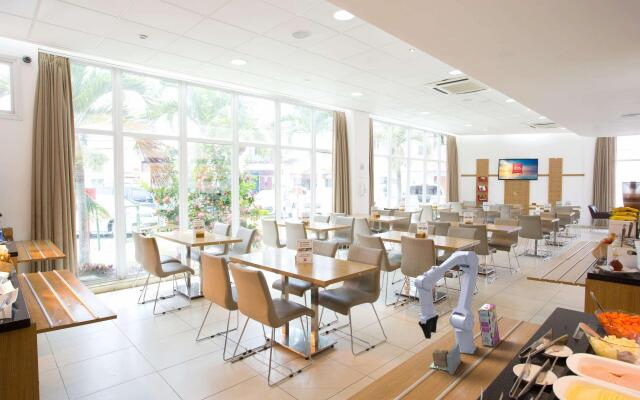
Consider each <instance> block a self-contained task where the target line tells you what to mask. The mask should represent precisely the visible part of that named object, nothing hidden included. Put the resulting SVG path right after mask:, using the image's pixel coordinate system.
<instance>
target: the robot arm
mask: <svg viewBox="0 0 640 400" xmlns="http://www.w3.org/2000/svg"><path fill="white" fill-rule="evenodd" d="M479 262H480V257H479V256H478V255H477V253H476V252H475V251H471V250H470V251H466V250H465V251H464V250H455V252H453V253H451V256H449V257H448V258H447V259H446V260H445V261H444V262H442V263H441V264H440V265H439V266H438V265H432V266H431V267H430V269H429V270H428V271H425V272H423V274H422V275H420V274H419V275H417V277H416V278H415V280H414V283H413V285H414V287H415V288H416V289H417V293H418V301H419V307H420V313H418V316H420V320H419V321H418V323H417V324H418V325H419V327H420V328H421V331H422V332H423V335H424V338H425V339H429V340H431V339H432V334H436V333H437V327H438V326H437V324H438V320H439V318H440V317H439V314H436V309H435V305H434V297H433V288H434V285H435V284H436V283H437V282H438V281H439V280H441V279H442V278H443V277H444V276H445V273H447V271H449V270H451V269H452V268H454V267H455V266H459V268H460V269H462V271H463V272H464V273H463V280H462V284H461V288H460V294H459V298H458V302H457V306H456V307H455V308H453V309H452V312H451V314H450V315H449V319H448V320H449V323H450V325H451V327H452V329H453V330H454V332H453V333H454V338H455V344H459V349H460V354H461V353H462V354H472V355H473V354H474V353H475V351H476V349H477V347H478V345H477V344H475V339H474V338H475V336H474V332H473V329H474V327H475V315H474V313H473V312H472V310H471V309H472V304H473V299H474V294H475V289H476V283H477V279H478V274H479V268H478V267H479Z"/></svg>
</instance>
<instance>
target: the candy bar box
mask: <svg viewBox="0 0 640 400" xmlns="http://www.w3.org/2000/svg"><path fill="white" fill-rule="evenodd" d="M496 308H497V307H496V304H495V303H494V304H492V303H484V304H482V306H481V307H479V308H478V309H477V310H478V311H477V313H478V319H479V320H478V321H479V326H480V328H479V329H480V336H481V342H482V346H483V347H490V346H493V347H494V346H495V345H496V344H497V343H496V342H498V341H499V340H500V330H499V325H498V315H497V309H496ZM495 343H496V344H495Z"/></svg>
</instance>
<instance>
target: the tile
mask: <svg viewBox="0 0 640 400" xmlns="http://www.w3.org/2000/svg"><path fill="white" fill-rule="evenodd" d="M433 368H438V369H437V370H440V369H441V370H440V371H448V366H447V367H439V366H438V367H437V366H434V361H432V363H431V364H430V366H429V369H432V370H433Z"/></svg>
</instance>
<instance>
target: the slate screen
mask: <svg viewBox="0 0 640 400" xmlns="http://www.w3.org/2000/svg"><path fill="white" fill-rule="evenodd" d="M461 362H462V357H461V353H460V349H459V344H456V343H454V345H453V346H452V347H451V348H450V350H449V351H448V355H447V364H448V370H447V371H448V374H449V375H450V376H451V375H452V376H453V375H454V373H455V371H456V370H457V369H458V366H460V364H461Z"/></svg>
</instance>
